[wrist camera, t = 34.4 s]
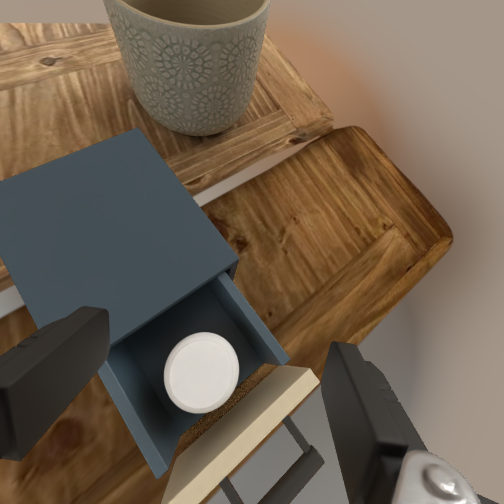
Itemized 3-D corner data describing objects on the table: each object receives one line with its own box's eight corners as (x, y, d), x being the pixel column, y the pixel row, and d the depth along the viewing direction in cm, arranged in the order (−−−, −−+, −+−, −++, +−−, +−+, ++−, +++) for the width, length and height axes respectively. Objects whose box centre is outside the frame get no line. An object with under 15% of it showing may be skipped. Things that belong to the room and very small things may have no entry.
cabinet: (230, 289, 30) (239, 258, 20) (119, 368, 26) (62, 377, 16) (159, 193, 33) (138, 126, 24) (49, 248, 29) (-33, 193, 19)
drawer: (320, 419, 26) (370, 448, 18) (217, 529, 22) (221, 633, 14) (207, 265, 30) (206, 231, 22) (103, 333, 26) (53, 322, 18)
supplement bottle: (173, 342, 25) (153, 335, 16) (228, 332, 26) (236, 321, 18) (177, 404, 24) (157, 434, 15) (236, 391, 25) (251, 412, 16)
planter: (256, 85, 44) (278, -44, 30) (242, 164, 37) (261, 46, 23) (154, 61, 42) (127, -87, 28) (121, 138, 36) (63, -4, 22)
